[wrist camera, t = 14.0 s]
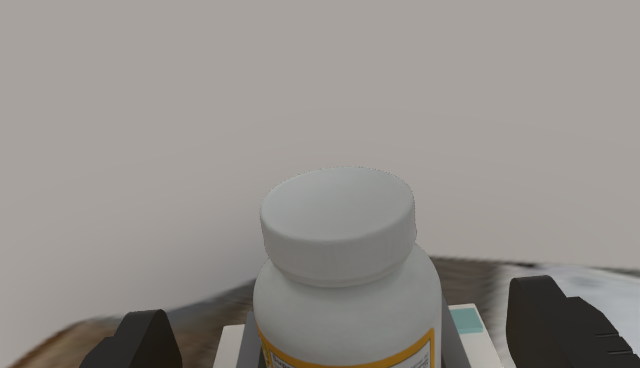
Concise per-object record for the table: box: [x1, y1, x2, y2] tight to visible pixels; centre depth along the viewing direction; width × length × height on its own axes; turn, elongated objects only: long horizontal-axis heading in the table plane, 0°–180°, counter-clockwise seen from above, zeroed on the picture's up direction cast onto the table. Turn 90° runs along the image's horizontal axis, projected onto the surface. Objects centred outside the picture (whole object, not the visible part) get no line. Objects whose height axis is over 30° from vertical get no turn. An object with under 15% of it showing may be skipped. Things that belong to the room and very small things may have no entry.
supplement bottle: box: [253, 167, 442, 368], centre depth 13 cm, size 5×5×10 cm
